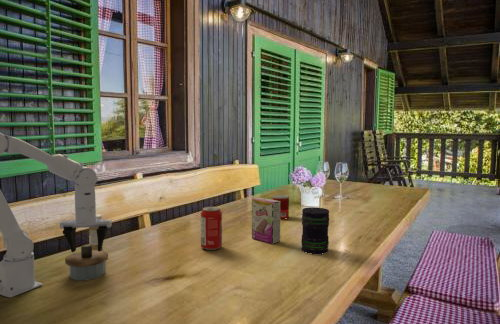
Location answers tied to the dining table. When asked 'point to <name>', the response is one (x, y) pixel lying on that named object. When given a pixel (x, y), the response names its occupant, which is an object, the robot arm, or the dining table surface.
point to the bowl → (87, 271)
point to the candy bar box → (266, 220)
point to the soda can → (211, 228)
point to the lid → (86, 257)
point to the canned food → (283, 205)
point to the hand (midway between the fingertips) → (86, 250)
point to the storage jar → (315, 230)
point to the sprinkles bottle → (94, 235)
